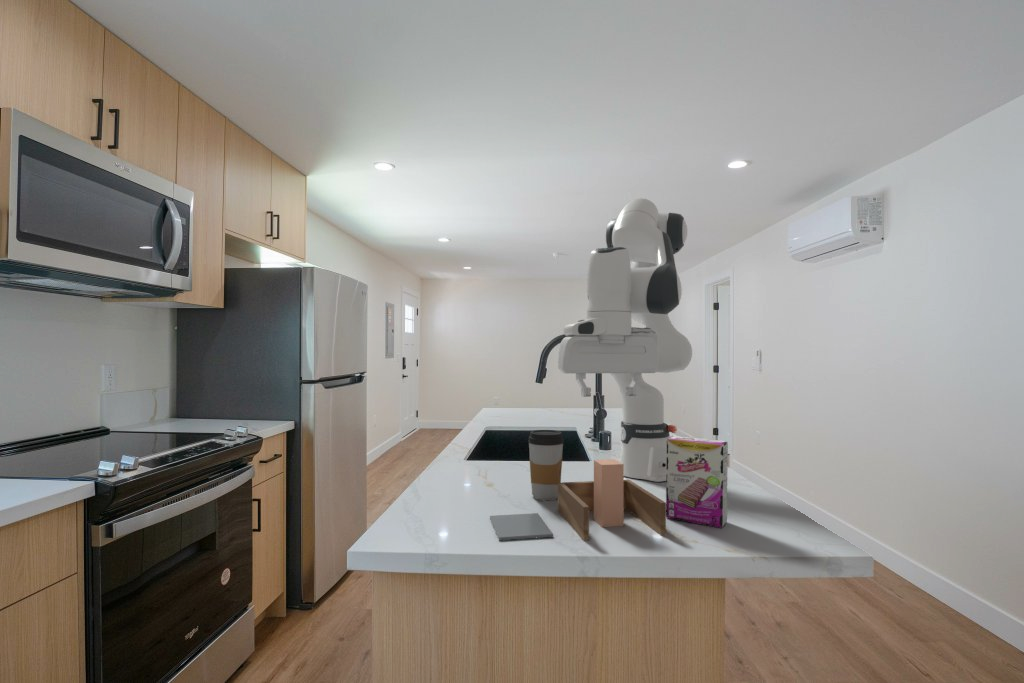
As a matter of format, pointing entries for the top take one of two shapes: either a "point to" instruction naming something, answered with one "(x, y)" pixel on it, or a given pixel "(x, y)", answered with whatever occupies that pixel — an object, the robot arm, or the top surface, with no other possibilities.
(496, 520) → the slate coaster
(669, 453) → the candy bar box
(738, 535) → the top surface
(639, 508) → the walnut bay
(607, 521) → the terracotta block
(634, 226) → the robot arm
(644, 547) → the top surface
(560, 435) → the coffee cup
